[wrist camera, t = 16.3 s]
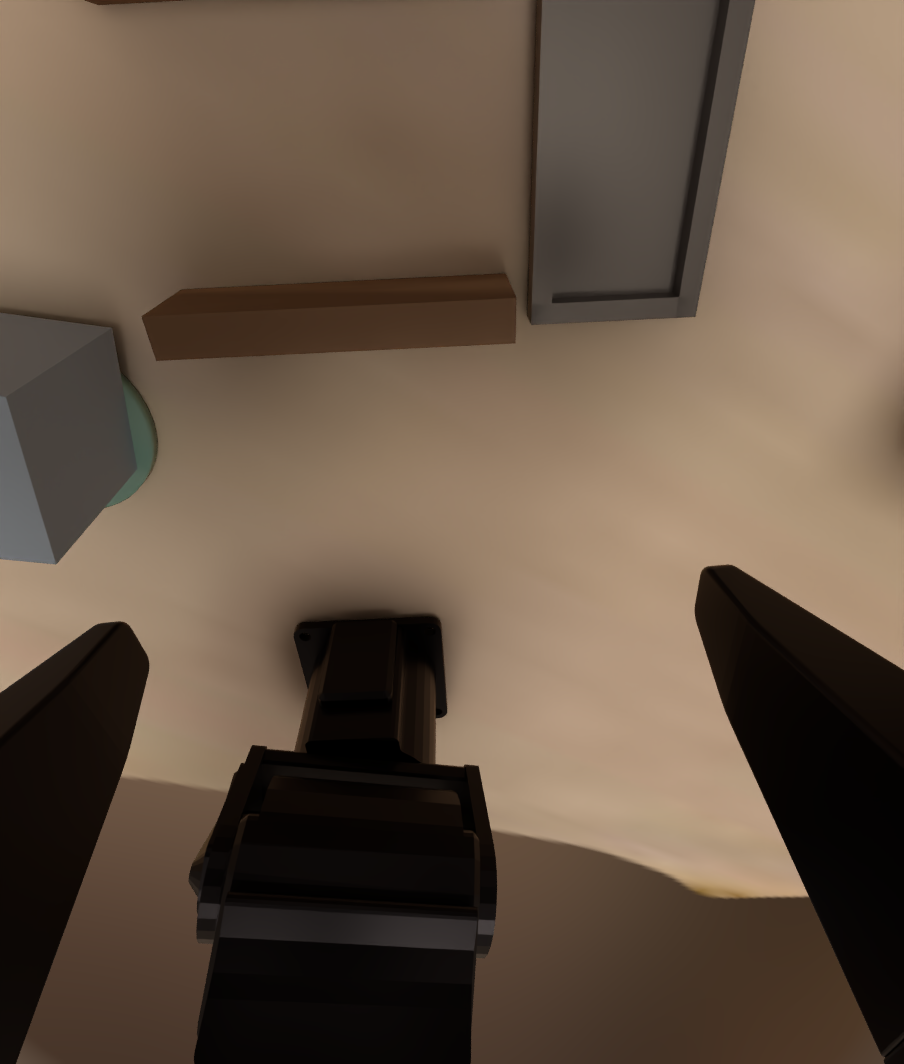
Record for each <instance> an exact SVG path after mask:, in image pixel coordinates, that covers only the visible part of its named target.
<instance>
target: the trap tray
mask: <svg viewBox="0 0 904 1064" xmlns="http://www.w3.org/2000/svg"><path fill="white" fill-rule="evenodd" d="M754 4H755V0H537V5H536V38H535V72H534V106H533V139H532V173H531V207H530V240H529V274H528V308H527V316H528V319H529V321H530V323H531V325H539V324H559V323H580V322H600V321H620V320H641V319H661V318H682V317H695V316H696V311H697V306H698V300H699V295H700V290H701V285H702V279H703V274H704V269H705V263H706V258H707V253H708V248H709V242H710V237H711V232H712V226H713V221H714V216H715V210H716V205H717V200H718V195H719V189H720V184H721V179H722V173H723V168H724V163H725V158H726V152H727V147H728V142H729V136H730V131H731V126H732V121H733V115H734V110H735V105H736V99H737V94H738V89H739V84H740V78H741V73H742V68H743V62H744V57H745V52H746V46H747V41H748V36H749V31H750V25H751V20H752V15H753V9H754Z"/></svg>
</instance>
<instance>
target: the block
mask: <svg viewBox="0 0 904 1064" xmlns="http://www.w3.org/2000/svg"><path fill="white" fill-rule="evenodd" d="M136 470H137V464H136V458H135V453H134V447H133V441H132V436H131V430H130V425H129V419H128V414H127V408H126V402H125V397H124V391H123V385H122V380H121V374H120V369H119V363H118V357H117V352H116V346H115V341H114V335H113V330H112V328H110V327H103V326H95V325H88V324H80V323H73V322H66V321H58V320H51V319H43V318H36V317H29V316H21V315H14V314H6V313H0V559H6V560H16V561H26V562H37V563H47V564H57V563H58V562H59V560H60V559H61V558H62V557H63V556H64V555H65V553H66V552H67V551H68V550H69V549H70V548H71V546H72V545H73V544H74V543H75V542H76V540H77V539H78V538H79V537H80V536H81V535H82V533H83V532H84V531H85V530H86V529H87V528H88V526H89V525H90V524H91V523H92V522H93V521H94V519H95V518H96V517H97V516H98V515H99V513H100V512H101V511H102V510H103V509H104V508H105V506H106V505H107V504H108V503H109V502H110V501H111V499H112V498H113V497H114V496H115V495H116V494H117V492H118V491H119V490H120V489H121V488H122V486H123V485H124V484H125V483H126V482H127V481H128V479H129V478H130V477H131V476H132V475H133V474H134V472H135V471H136Z"/></svg>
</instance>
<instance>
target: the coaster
mask: <svg viewBox="0 0 904 1064" xmlns="http://www.w3.org/2000/svg"><path fill="white" fill-rule="evenodd" d="M120 374H121V380H122V385H123V391H124V397H125V402H126V408H127V414H128V419H129V425H130V430H131V436H132V441H133V447H134V453H135V458H136V464H137V470H136V471H135V472H134V474H133V475H132V476H131V477H130V478H129V479H128V481H127V482H126V483H125V484H124V485H123V486H122V488H121V489H120V490H119V491H118V492H117V494H116V495H115V496H114V497H113V498H112V499H111V501H110V502H109V503H108V504H107V505H106V506H105V507H109V506H113V505H115V504H118V503H120V502H122V501H124V500H125V499H127V498H129V497H130V496H131V495H132V494H134V493H135V492H136V491H137V490H138V488H139V487H140V486H141V485H142V484H143V482H144V481H145V480H146V479H147V477H148V476H149V474H150V473H151V471H152V469H153V466H154V464H155V461H156V456H157V435H156V429H155V426H154V422H153V419H152V417H151V414H150V412H149V410H148V408H147V406H146V404H145V402H144V401H143V399H142V397H141V396H140V394H139V393H138V392H137V390H136V389H135V388H134V386H133V385H132V384H131V383H130V382H129V381H128V380H127V378H126V377H125V376H124V375H123V374H122V373H121V372H120Z"/></svg>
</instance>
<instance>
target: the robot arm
mask: <svg viewBox="0 0 904 1064" xmlns="http://www.w3.org/2000/svg"><path fill="white" fill-rule="evenodd" d="M695 618H696V623H697V626H698V629H699V632H700V635H701V638H702V641H703V645H704V648H705V651H706V654H707V657H708V660H709V663H710V667H711V670H712V673H713V676H714V679H715V682H716V685H717V689H718V692H719V695H720V698H721V701H722V703H723V706H724V709H725V712H726V714H727V716H728V719H729V721H730V724H731V726H732V728H733V730H734V733H735V735H736V737H737V739H738V741H739V744H740V746H741V748H742V750H743V752H744V755H745V757H746V759H747V761H748V763H749V766H750V768H751V770H752V772H753V774H754V777H755V779H756V781H757V783H758V785H759V788H760V790H761V792H762V794H763V796H764V799H765V801H766V803H767V805H768V807H769V810H770V812H771V814H772V816H773V818H774V821H775V823H776V825H777V827H778V829H779V832H780V834H781V836H782V838H783V840H784V843H785V845H786V847H787V849H788V851H789V854H790V856H791V858H792V860H793V862H794V865H795V867H796V869H797V871H798V873H799V876H800V878H801V880H802V882H803V884H804V887H805V889H806V891H807V893H808V895H809V898H810V900H811V902H812V904H813V906H814V909H815V911H816V913H817V915H818V917H819V919H820V922H821V924H822V926H823V928H824V931H825V933H826V935H827V937H828V939H829V941H830V944H831V946H832V948H833V950H834V952H835V955H836V957H837V959H838V961H839V964H840V966H841V968H842V970H843V972H844V974H845V976H846V979H847V981H848V983H849V985H850V988H851V990H852V992H853V994H854V997H855V999H856V1001H857V1003H858V1005H859V1008H860V1010H861V1012H862V1014H863V1016H864V1018H865V1021H866V1023H867V1025H868V1027H869V1030H870V1032H871V1034H872V1036H873V1038H874V1041H875V1043H876V1045H877V1047H878V1049H879V1052H880V1053H881V1055H882V1056H883V1057H885V1058H884V1063H885V1064H904V670H903V669H901V668H900V667H898V666H896V665H895V664H893V663H891V662H890V661H888V660H887V659H885V658H883V657H882V656H880V655H878V654H877V653H875V652H874V651H872V650H870V649H869V648H867V647H865V646H864V645H862V644H861V643H859V642H857V641H856V640H854V639H852V638H851V637H849V636H847V635H846V634H844V633H843V632H841V631H839V630H838V629H836V628H834V627H833V626H831V625H830V624H828V623H826V622H825V621H823V620H821V619H820V618H818V617H817V616H815V615H813V614H812V613H810V612H808V611H807V610H805V609H804V608H802V607H800V606H799V605H797V604H795V603H794V602H792V601H791V600H789V599H787V598H786V597H784V596H782V595H781V594H779V593H778V592H776V591H774V590H773V589H771V588H769V587H768V586H766V585H765V584H763V583H761V582H760V581H758V580H756V579H755V578H753V577H752V576H750V575H748V574H747V573H745V572H743V571H742V570H740V569H739V568H737V567H735V566H733V565H718V566H708V567H705V568H704V569H703V570H702V572H701V575H700V580H699V586H698V591H697V597H696V603H695ZM428 627H432V628H433V629H427V628H428ZM304 633H308V634H309V635H307V634H304ZM294 640H295V643H296V647H297V651H298V654H299V658H300V662H301V665H302V669H303V673H304V676H305V680H306V683H307V687H308V693H307V697H306V702H305V706H304V711H303V715H302V719H301V724H300V728H299V733H298V737H297V742H296V746H295V750H294V751H284V750H273V749H267V746H257V745H252V747H251V749H250V751H249V754H248V756H247V759H246V761H245V763H241V764H240V767H239V769H238V772H236V773H234V776H233V779H232V782H231V785H230V788H229V792H228V795H227V798H226V801H225V803H224V806H223V808H222V811H221V813H220V816H219V818H218V821H217V822H216V824H215V826H214V828H213V829H212V831H211V833H210V834H209V836H208V838H207V839H206V841H205V843H204V844H203V846H202V848H201V849H200V851H199V853H198V855H197V856H196V858H195V860H194V862H193V864H192V866H191V870H190V874H189V884H190V885H191V887H192V889H193V890H194V892H195V894H196V895H197V897H198V901H197V913H198V917H197V941H198V943H206V944H213V947H212V953H211V958H210V963H209V969H208V973H207V979H206V984H205V989H204V994H203V1000H202V1005H201V1010H200V1015H199V1021H198V1030H197V1035H198V1040H197V1044H196V1049H195V1054H194V1063H195V1064H470V1063H471V1023H472V1008H473V994H474V979H475V965H476V958H485V957H486V956H487V954H488V952H489V949H490V947H491V942H492V937H493V933H494V932H493V931H494V926H495V917H496V902H497V901H496V900H497V870H496V857H495V850H494V844H493V839H492V833H491V828H490V823H489V818H488V813H487V807H486V802H485V797H484V792H483V787H482V782H481V776H480V771H479V767H478V766H475V765H464V767H459V766H448V765H438V764H435V754H436V718H442V717H444V716H445V715H446V714H447V697H446V683H445V669H444V655H443V642H442V628H441V622H440V621H439V620H438V619H437V618H434V617H412V618H390V619H367V620H345V621H323V622H304V623H300V624H298V625H297V626H296V628H295V632H294ZM148 673H149V660H148V656H147V654H146V652H145V651H144V649H143V647H142V646H141V644H140V642H139V640H138V639H137V637H136V635H135V634H134V632H133V630H132V629H131V627H130V626H129V625H128V624H127V623H125V622H120V621H119V622H109V623H101V624H97V625H95V626H93V627H92V628H91V629H89V630H88V631H86V632H85V633H84V634H82V635H81V636H79V637H78V638H77V639H75V640H74V641H72V642H71V643H70V644H68V645H67V646H65V647H64V648H63V649H61V650H60V651H58V652H57V653H56V654H54V655H53V656H51V657H50V658H49V659H47V660H46V661H44V662H43V663H42V664H40V665H39V666H37V667H36V668H35V669H33V670H32V671H30V672H29V673H28V674H26V675H25V676H23V677H22V678H21V679H19V680H18V681H16V682H15V683H14V684H12V685H11V686H9V687H8V688H7V689H5V690H4V691H2V692H1V693H0V1064H16V1062H17V1059H18V1056H19V1054H20V1051H21V1048H22V1045H23V1043H24V1040H25V1037H26V1034H27V1031H28V1029H29V1026H30V1023H31V1021H32V1018H33V1015H34V1012H35V1010H36V1007H37V1004H38V1001H39V998H40V996H41V993H42V991H43V988H44V985H45V982H46V980H47V977H48V974H49V971H50V969H51V965H52V963H53V960H54V958H55V955H56V952H57V949H58V947H59V944H60V941H61V938H62V936H63V933H64V930H65V928H66V925H67V922H68V919H69V916H70V914H71V911H72V908H73V906H74V903H75V900H76V897H77V895H78V892H79V889H80V886H81V884H82V881H83V878H84V875H85V873H86V870H87V867H88V865H89V862H90V859H91V856H92V854H93V851H94V848H95V845H96V842H97V840H98V837H99V834H100V831H101V829H102V826H103V823H104V820H105V818H106V815H107V812H108V810H109V807H110V804H111V801H112V799H113V796H114V793H115V791H116V788H117V785H118V782H119V780H120V777H121V774H122V771H123V768H124V765H125V762H126V759H127V756H128V752H129V749H130V745H131V741H132V737H133V733H134V729H135V725H136V721H137V717H138V713H139V709H140V705H141V701H142V697H143V693H144V689H145V685H146V681H147V677H148ZM437 708H438V709H437Z"/></svg>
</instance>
